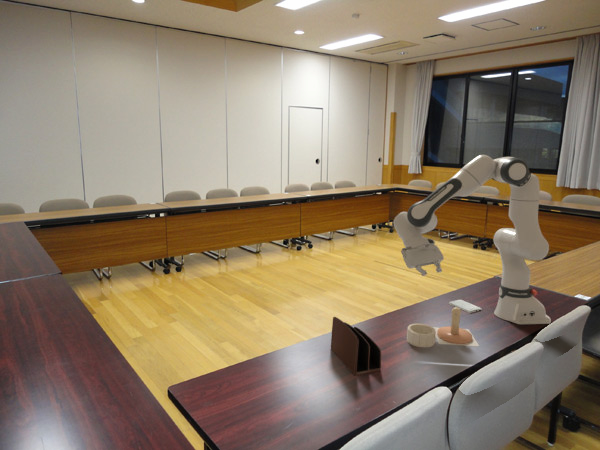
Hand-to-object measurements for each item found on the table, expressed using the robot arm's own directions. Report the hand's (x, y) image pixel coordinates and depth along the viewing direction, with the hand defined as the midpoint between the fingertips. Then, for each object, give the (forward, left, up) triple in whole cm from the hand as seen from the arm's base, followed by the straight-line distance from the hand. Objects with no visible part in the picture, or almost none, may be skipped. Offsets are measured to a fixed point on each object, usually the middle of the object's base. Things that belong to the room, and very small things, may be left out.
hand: (432, 273), depth 177 cm
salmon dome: (-7, +13, -22) cm, 26 cm away
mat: (-7, +13, -22) cm, 27 cm away
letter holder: (+32, +36, -23) cm, 53 cm away
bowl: (+7, +19, -22) cm, 30 cm away
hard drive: (-20, -21, -23) cm, 37 cm away
